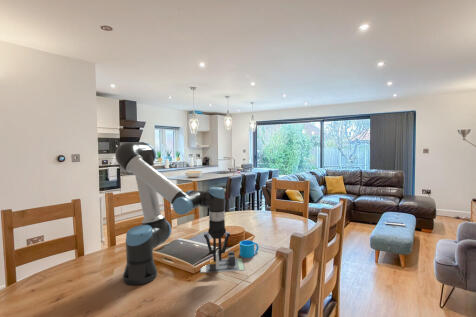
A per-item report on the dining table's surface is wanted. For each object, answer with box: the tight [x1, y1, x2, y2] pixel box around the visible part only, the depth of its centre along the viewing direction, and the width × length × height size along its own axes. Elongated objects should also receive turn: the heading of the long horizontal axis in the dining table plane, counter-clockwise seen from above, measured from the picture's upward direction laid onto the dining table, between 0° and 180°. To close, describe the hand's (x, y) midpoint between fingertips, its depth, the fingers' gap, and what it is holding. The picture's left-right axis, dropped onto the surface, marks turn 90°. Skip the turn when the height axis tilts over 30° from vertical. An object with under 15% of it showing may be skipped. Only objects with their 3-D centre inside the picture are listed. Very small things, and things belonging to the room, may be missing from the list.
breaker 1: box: [227, 250, 235, 260], centre depth 139 cm, size 3×2×4 cm
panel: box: [199, 257, 246, 274], centre depth 134 cm, size 22×14×2 cm, turn 96°
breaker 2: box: [229, 254, 236, 265], centre depth 135 cm, size 3×2×4 cm
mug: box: [239, 239, 260, 259], centre depth 148 cm, size 12×8×8 cm
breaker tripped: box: [209, 259, 216, 271], centre depth 128 cm, size 3×2×4 cm
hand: (217, 266), depth 129 cm, fingers closed
